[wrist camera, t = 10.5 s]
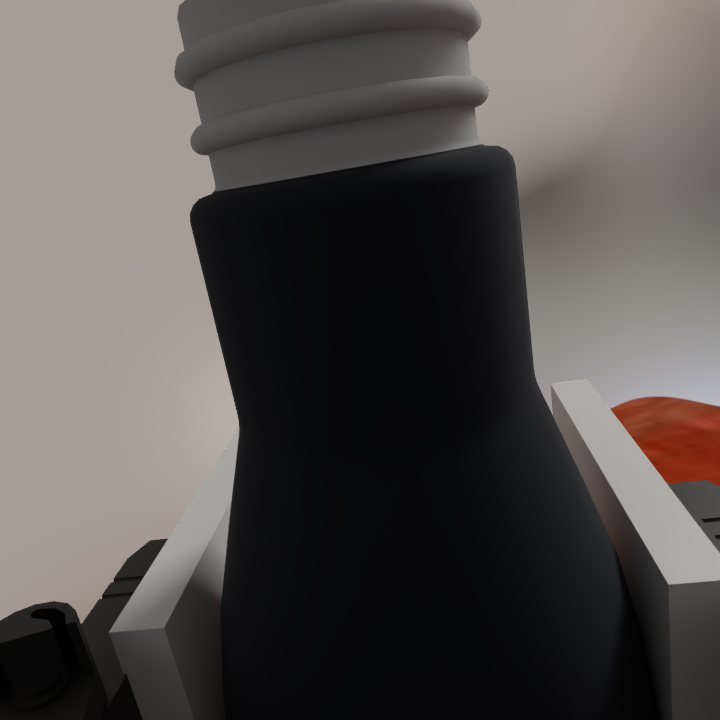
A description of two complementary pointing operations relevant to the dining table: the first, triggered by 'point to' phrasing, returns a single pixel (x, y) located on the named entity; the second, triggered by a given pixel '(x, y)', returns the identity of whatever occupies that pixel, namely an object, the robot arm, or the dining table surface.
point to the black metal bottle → (388, 386)
